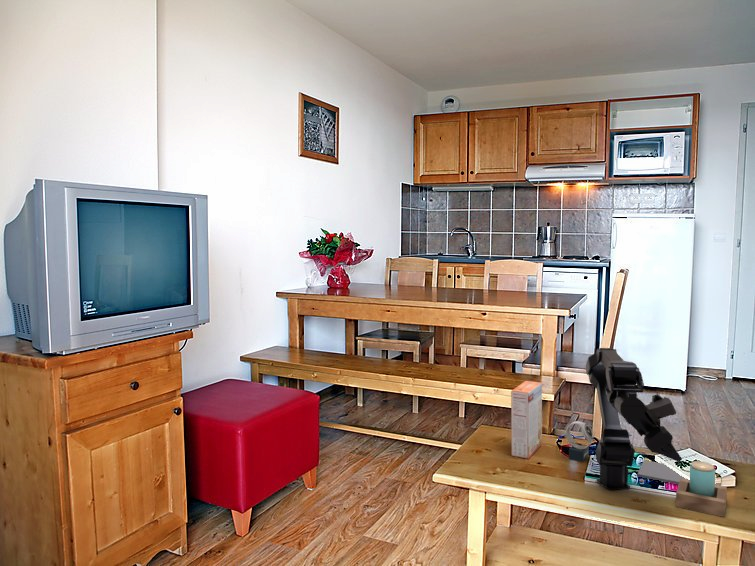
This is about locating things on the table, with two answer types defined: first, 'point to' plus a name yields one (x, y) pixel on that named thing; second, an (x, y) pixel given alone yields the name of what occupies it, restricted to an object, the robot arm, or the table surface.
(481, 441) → the table surface
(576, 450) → the watch
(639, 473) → the gray rectangular panel
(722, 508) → the walnut frame
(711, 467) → the teal jar
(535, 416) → the cracker box
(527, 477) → the table surface
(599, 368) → the robot arm
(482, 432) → the table surface
